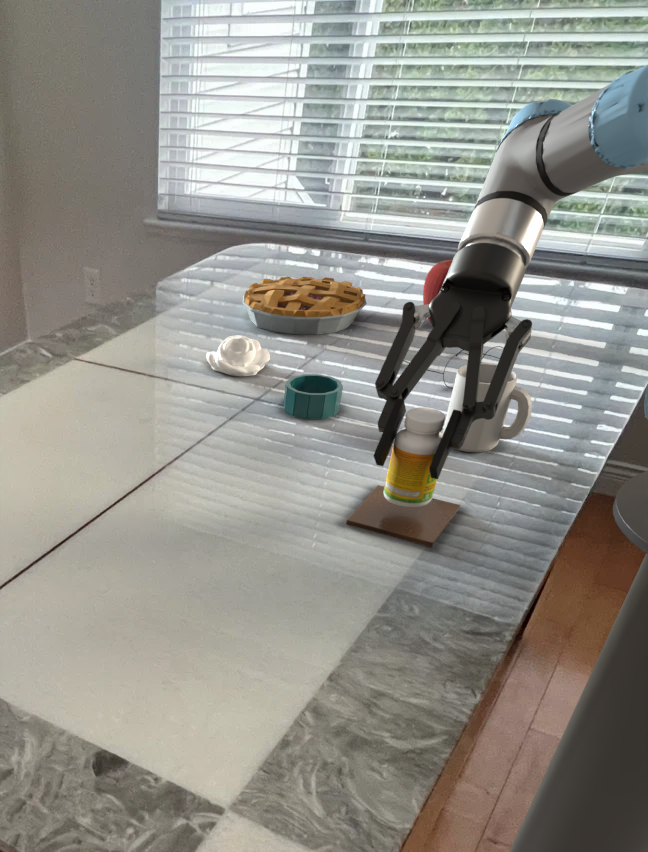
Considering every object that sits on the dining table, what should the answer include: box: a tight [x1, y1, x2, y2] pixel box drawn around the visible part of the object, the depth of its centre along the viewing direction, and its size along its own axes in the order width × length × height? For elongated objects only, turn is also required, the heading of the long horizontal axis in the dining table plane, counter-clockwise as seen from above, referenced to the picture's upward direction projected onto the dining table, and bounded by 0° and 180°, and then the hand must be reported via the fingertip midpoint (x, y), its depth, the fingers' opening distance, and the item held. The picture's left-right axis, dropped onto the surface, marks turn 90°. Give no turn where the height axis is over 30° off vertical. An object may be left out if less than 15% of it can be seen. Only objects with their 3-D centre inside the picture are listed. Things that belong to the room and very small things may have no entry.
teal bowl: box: [282, 373, 344, 420], centre depth 120 cm, size 8×8×4 cm
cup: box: [441, 362, 533, 453], centre depth 108 cm, size 7×10×9 cm
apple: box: [422, 259, 453, 323], centre depth 144 cm, size 10×10×10 cm
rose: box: [206, 334, 271, 377], centre depth 133 cm, size 10×4×10 cm
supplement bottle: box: [384, 406, 446, 507], centre depth 93 cm, size 5×5×10 cm
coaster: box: [345, 484, 461, 548], centre depth 97 cm, size 10×10×1 cm
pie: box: [242, 276, 367, 335], centre depth 150 cm, size 22×22×5 cm
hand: (405, 466), depth 90 cm, fingers closed on supplement bottle, 5 cm apart
